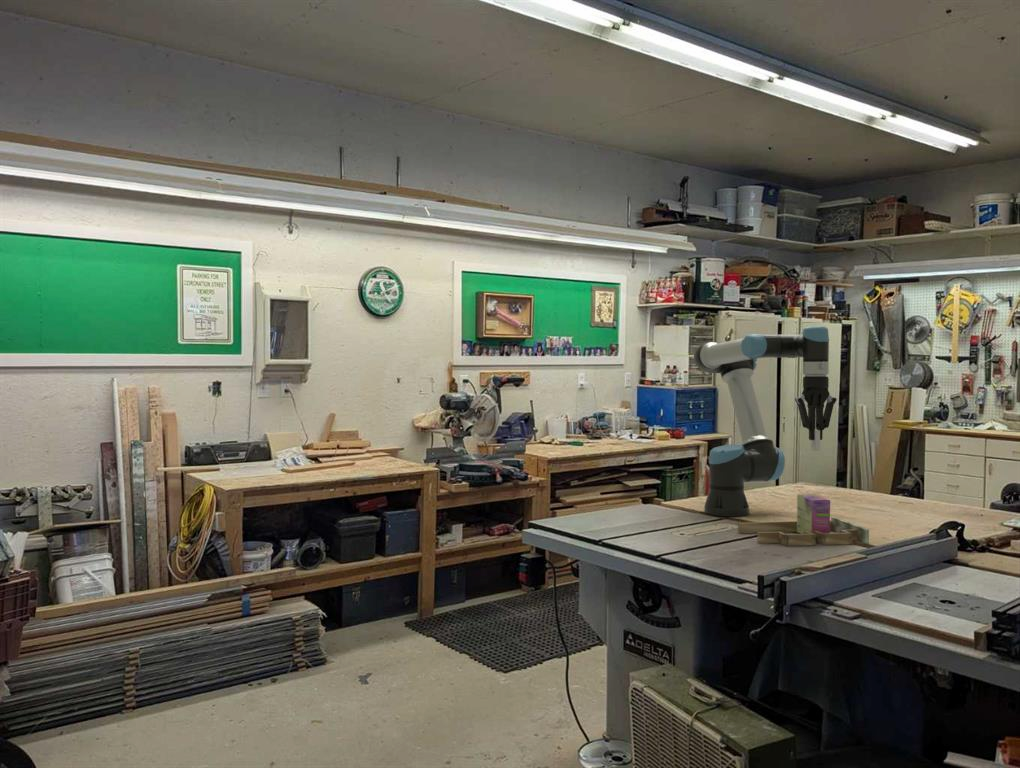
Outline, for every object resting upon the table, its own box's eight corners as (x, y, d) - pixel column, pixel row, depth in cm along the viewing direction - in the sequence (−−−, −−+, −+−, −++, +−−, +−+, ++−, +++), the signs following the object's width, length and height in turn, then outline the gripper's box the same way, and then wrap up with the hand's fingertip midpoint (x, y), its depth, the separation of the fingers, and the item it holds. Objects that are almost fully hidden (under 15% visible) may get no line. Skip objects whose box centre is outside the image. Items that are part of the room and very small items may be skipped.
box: (830, 539, 225) (830, 499, 225) (811, 540, 225) (811, 499, 225) (814, 532, 235) (815, 493, 235) (796, 532, 235) (796, 494, 235)
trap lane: (738, 532, 236) (738, 519, 235) (834, 529, 239) (834, 517, 239) (764, 546, 217) (764, 532, 217) (868, 543, 220) (868, 529, 220)
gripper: (801, 375, 237) (801, 452, 238) (841, 375, 238) (841, 451, 239) (790, 375, 245) (790, 449, 245) (829, 375, 246) (829, 449, 246)
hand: (815, 450), depth 242 cm, fingers closed
